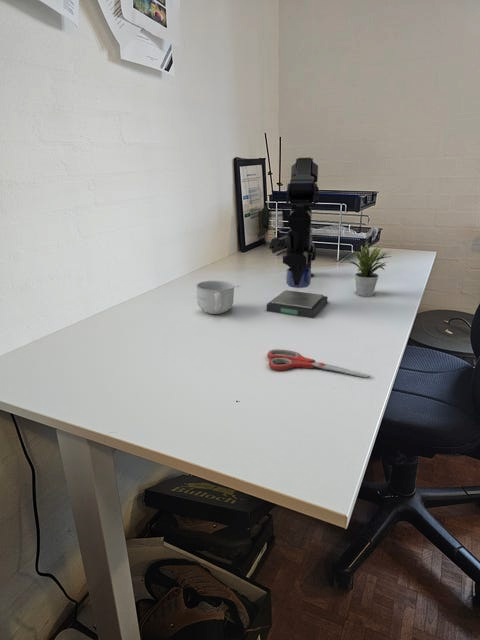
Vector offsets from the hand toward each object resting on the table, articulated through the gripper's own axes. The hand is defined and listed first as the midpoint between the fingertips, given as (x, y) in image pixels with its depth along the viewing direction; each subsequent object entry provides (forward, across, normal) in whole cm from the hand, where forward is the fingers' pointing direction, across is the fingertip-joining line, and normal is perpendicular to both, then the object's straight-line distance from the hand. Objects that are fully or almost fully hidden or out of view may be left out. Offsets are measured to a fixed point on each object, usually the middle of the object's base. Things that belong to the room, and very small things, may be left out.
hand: (298, 281), depth 116 cm
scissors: (+8, +36, +10) cm, 38 cm away
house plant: (+8, -16, +19) cm, 26 cm away
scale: (+8, 0, 0) cm, 8 cm away
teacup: (+8, +11, -22) cm, 26 cm away
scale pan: (+6, 0, 0) cm, 6 cm away
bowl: (+1, 0, 0) cm, 1 cm away
